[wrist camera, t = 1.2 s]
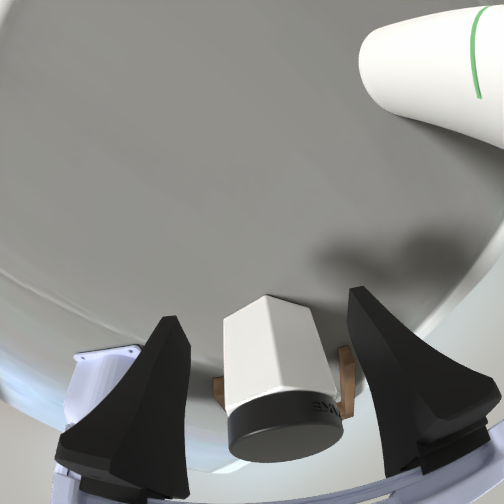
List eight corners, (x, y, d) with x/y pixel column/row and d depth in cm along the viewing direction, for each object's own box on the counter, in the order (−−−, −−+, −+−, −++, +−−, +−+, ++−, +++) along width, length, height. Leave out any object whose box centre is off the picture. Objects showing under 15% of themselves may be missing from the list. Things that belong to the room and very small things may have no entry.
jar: (308, 352, 29) (335, 453, 19) (231, 362, 29) (237, 468, 19) (312, 287, 25) (357, 409, 14) (217, 299, 24) (217, 430, 14)
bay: (248, 426, 38) (250, 440, 36) (213, 378, 30) (213, 396, 28) (349, 402, 37) (353, 416, 35) (348, 345, 29) (355, 362, 27)
